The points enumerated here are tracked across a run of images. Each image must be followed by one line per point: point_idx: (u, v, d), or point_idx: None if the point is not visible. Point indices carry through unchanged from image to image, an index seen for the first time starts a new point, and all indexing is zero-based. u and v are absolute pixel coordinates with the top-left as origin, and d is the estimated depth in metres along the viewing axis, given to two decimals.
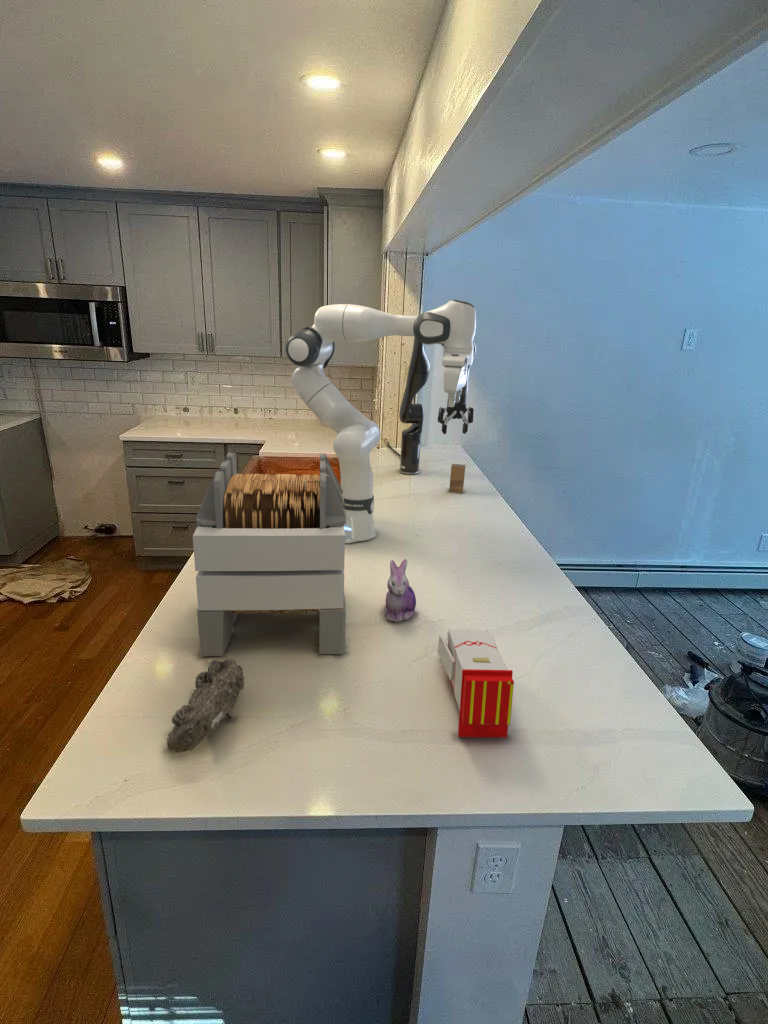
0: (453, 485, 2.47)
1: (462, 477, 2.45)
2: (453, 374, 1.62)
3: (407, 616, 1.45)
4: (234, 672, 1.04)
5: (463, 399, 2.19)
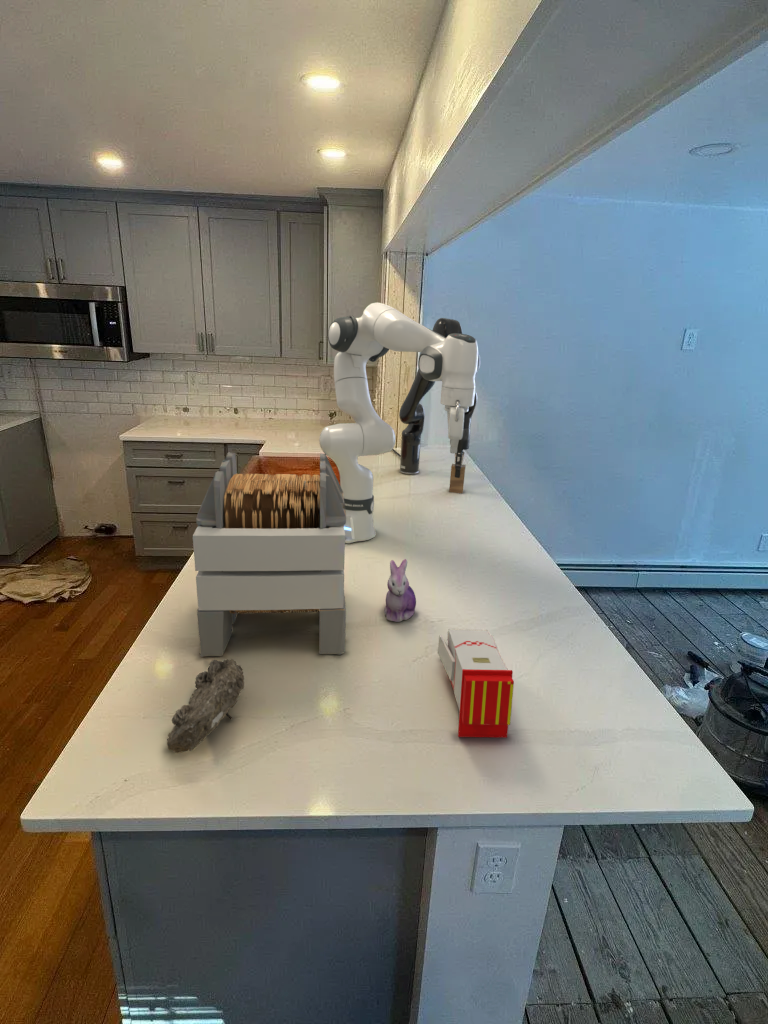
0: (453, 485, 2.47)
1: (462, 477, 2.45)
2: None
3: (407, 616, 1.45)
4: (234, 672, 1.04)
5: None
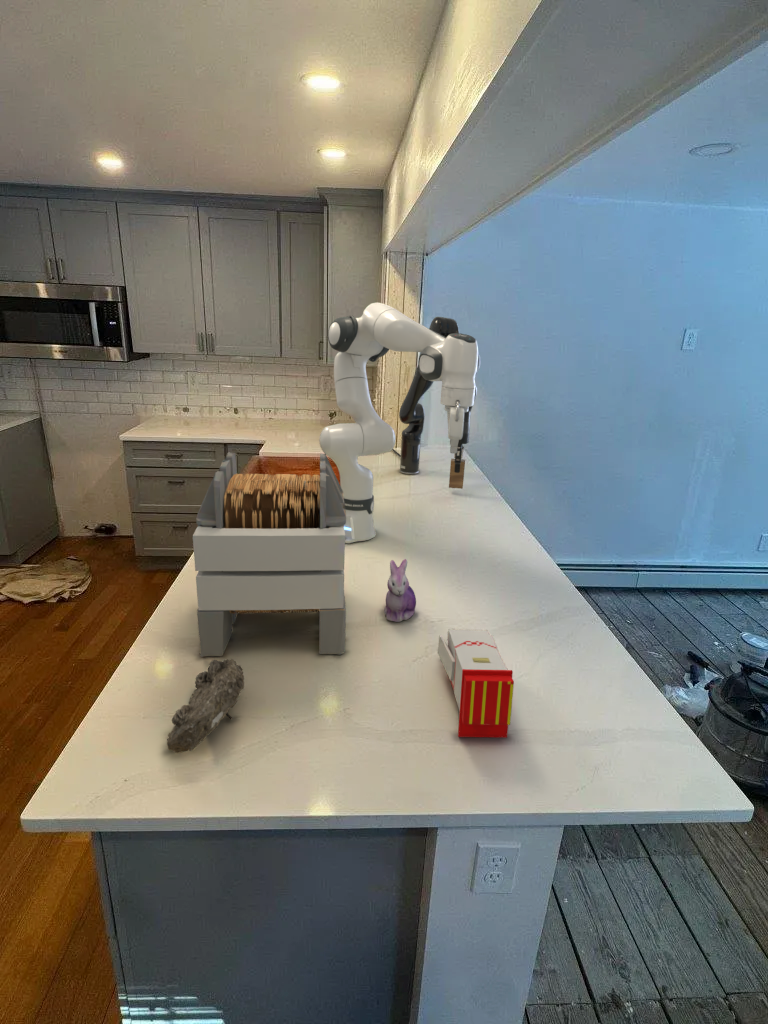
0: (452, 481, 2.42)
1: (462, 472, 2.40)
2: None
3: (407, 616, 1.45)
4: (234, 672, 1.04)
5: None
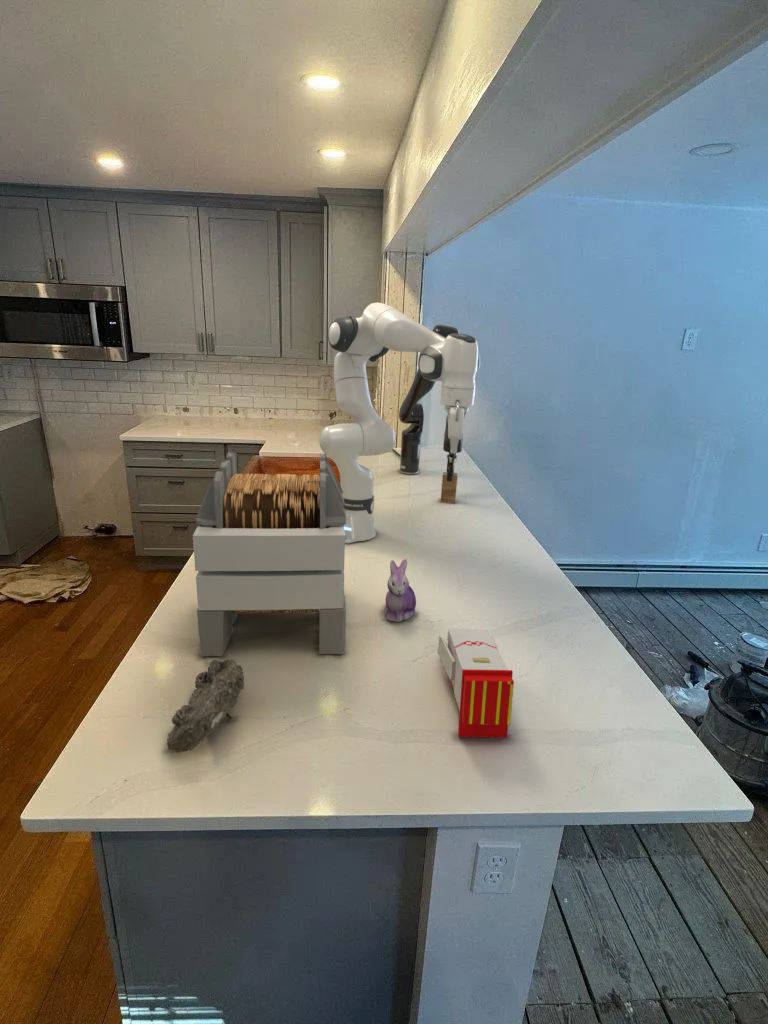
0: (444, 495, 2.34)
1: (454, 486, 2.32)
2: None
3: (407, 616, 1.45)
4: (234, 672, 1.04)
5: None
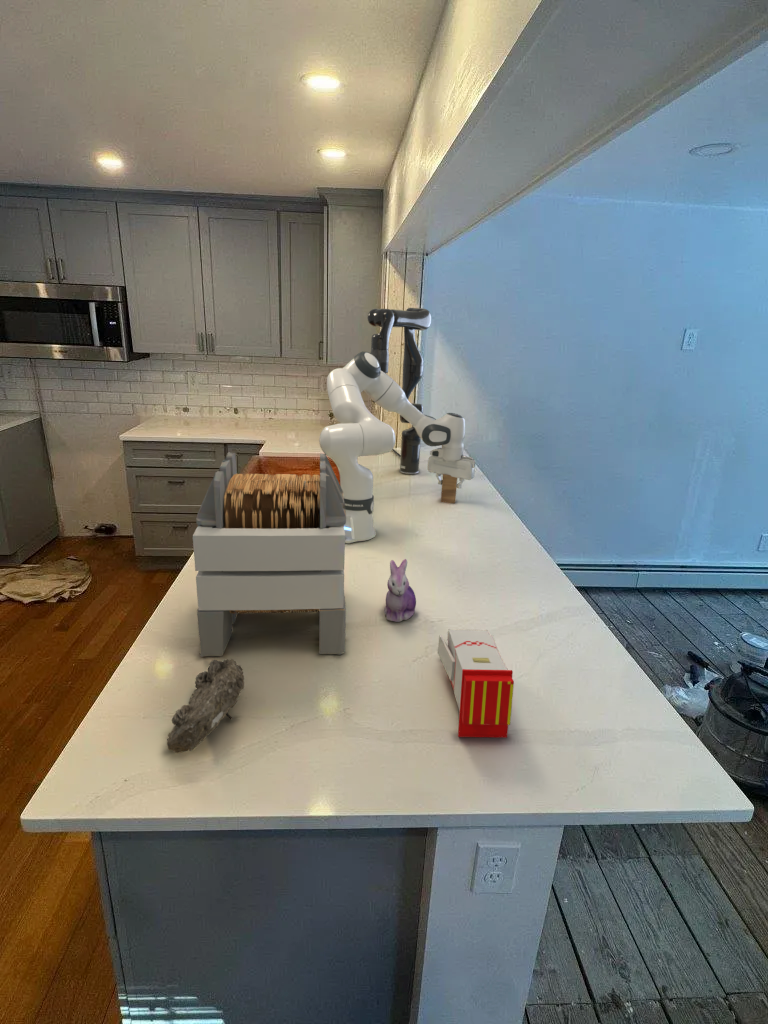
0: (444, 495, 2.34)
1: (454, 486, 2.32)
2: None
3: (407, 616, 1.45)
4: (234, 672, 1.04)
5: None
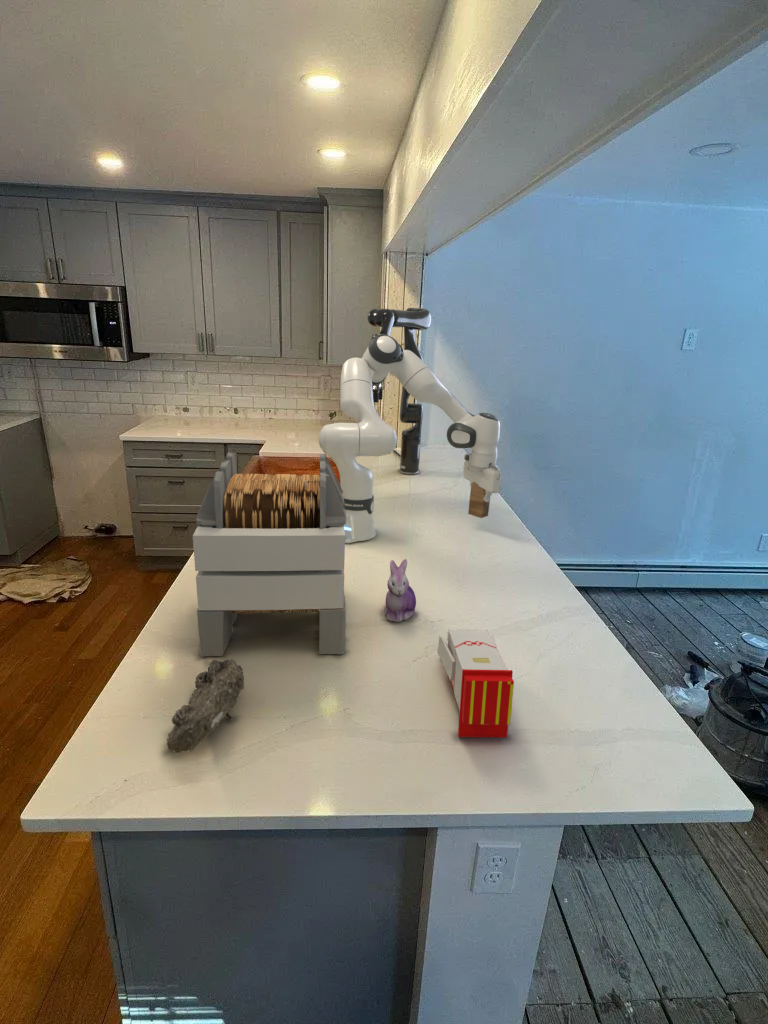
0: (472, 507, 2.04)
1: (481, 498, 2.00)
2: None
3: (407, 616, 1.45)
4: (234, 672, 1.04)
5: None
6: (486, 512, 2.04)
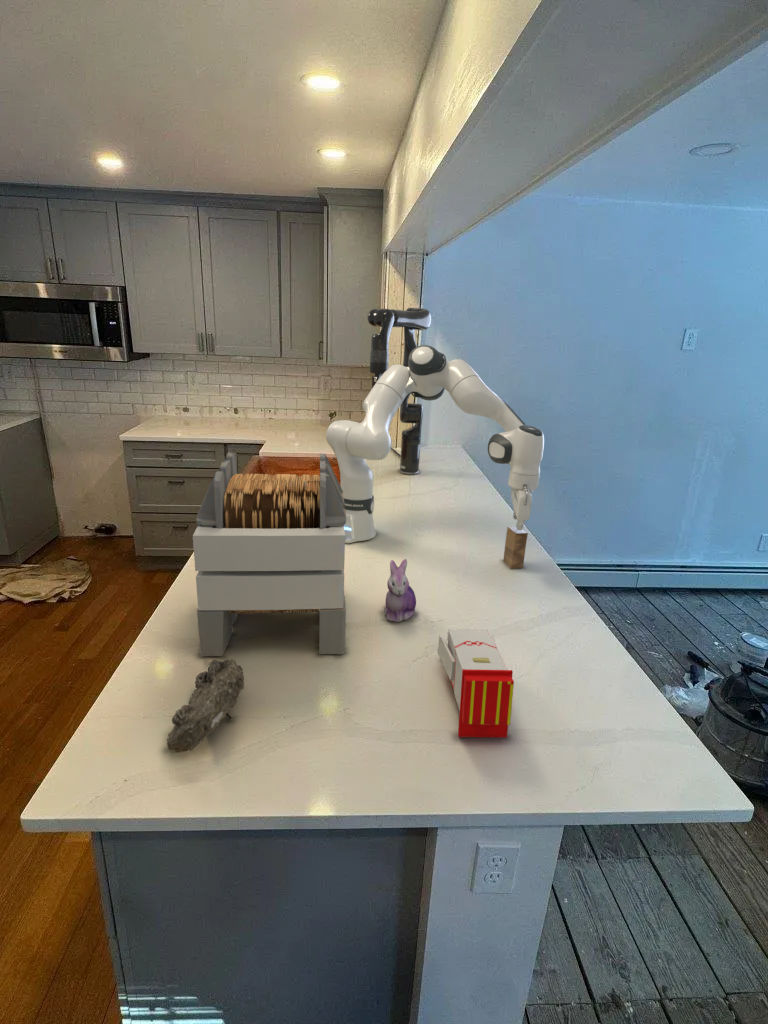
0: (506, 554, 1.80)
1: (512, 546, 1.75)
2: None
3: (407, 616, 1.45)
4: (234, 672, 1.04)
5: (370, 365, 2.30)
6: (519, 563, 1.77)
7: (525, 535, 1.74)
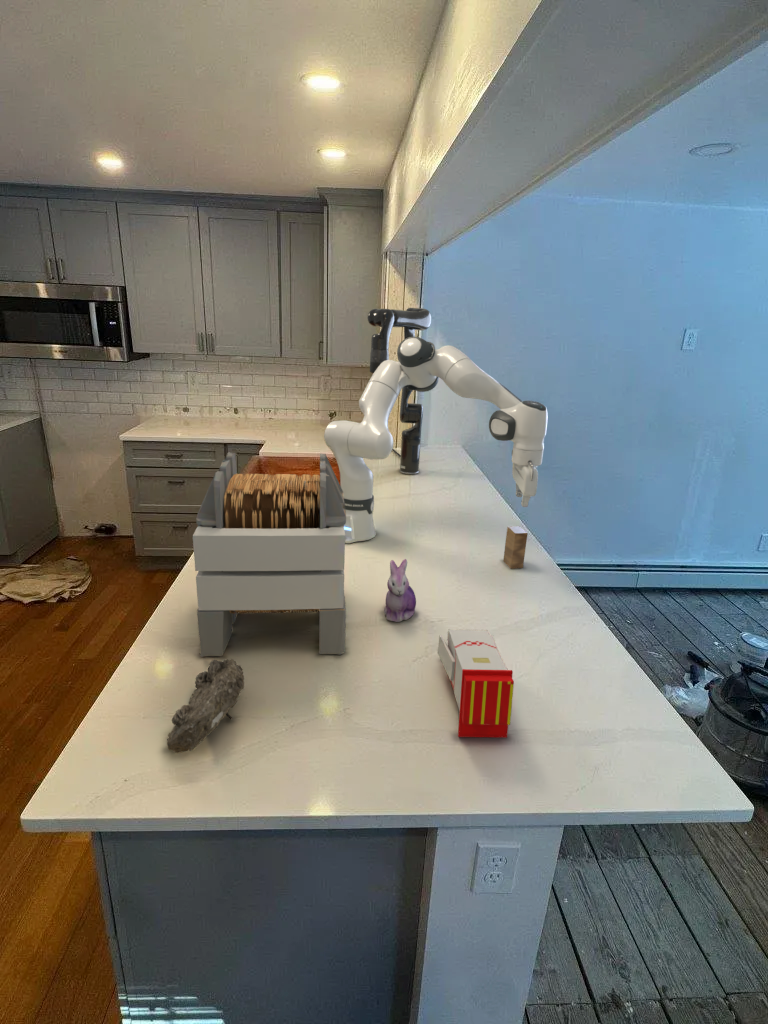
0: (506, 554, 1.80)
1: (512, 546, 1.75)
2: None
3: (407, 616, 1.45)
4: (234, 672, 1.04)
5: (370, 365, 2.30)
6: (519, 563, 1.77)
7: (525, 535, 1.74)
